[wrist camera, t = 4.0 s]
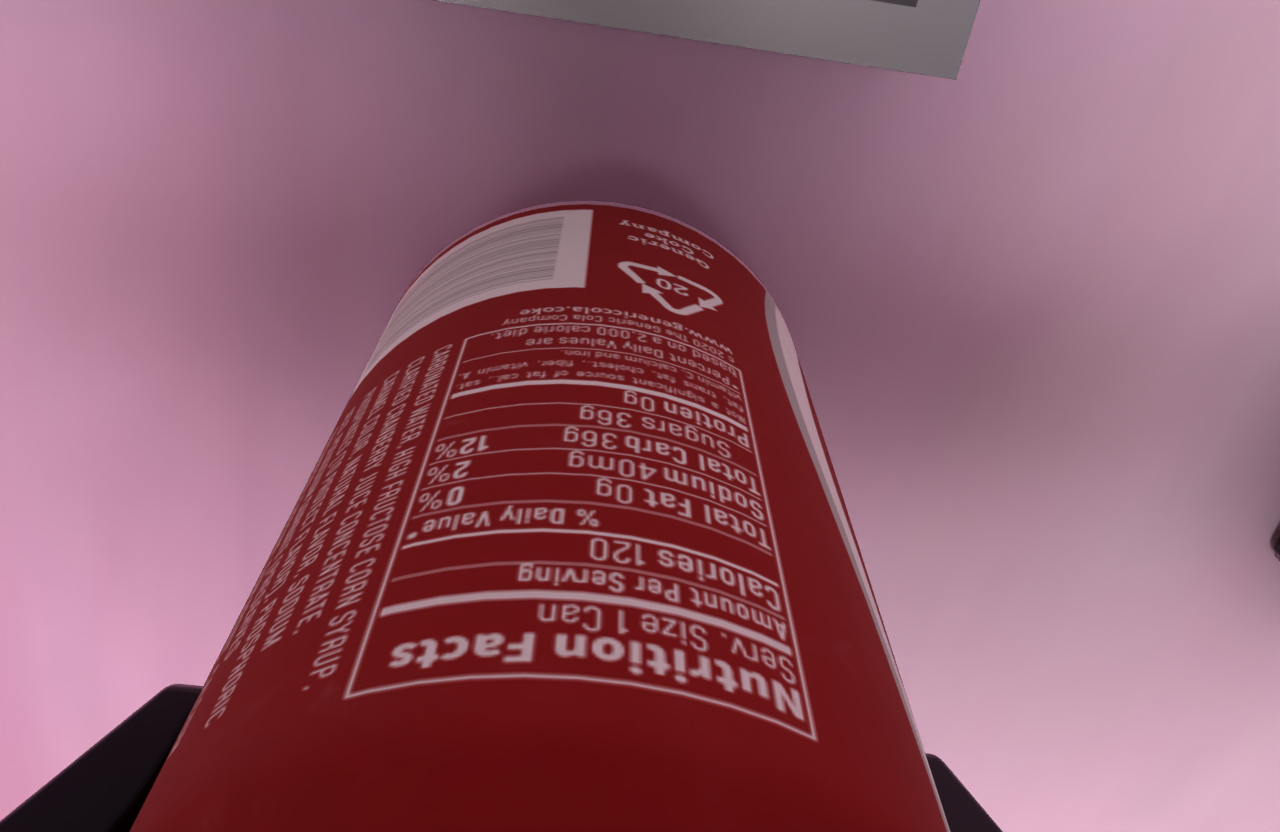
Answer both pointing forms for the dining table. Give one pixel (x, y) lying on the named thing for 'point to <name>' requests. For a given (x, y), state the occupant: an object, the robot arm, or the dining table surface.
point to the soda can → (563, 572)
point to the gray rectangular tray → (789, 26)
